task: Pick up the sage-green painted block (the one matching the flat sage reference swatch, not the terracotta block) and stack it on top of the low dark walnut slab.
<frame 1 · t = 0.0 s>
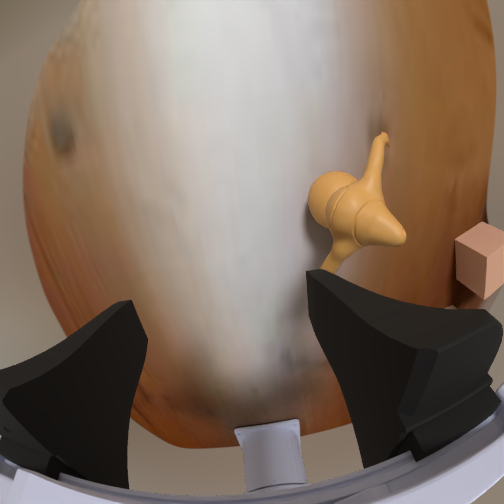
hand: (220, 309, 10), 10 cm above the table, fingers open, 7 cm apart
figurine: (314, 190, 19), on the table, touching gripper
terracotta block: (469, 250, 23), on the table
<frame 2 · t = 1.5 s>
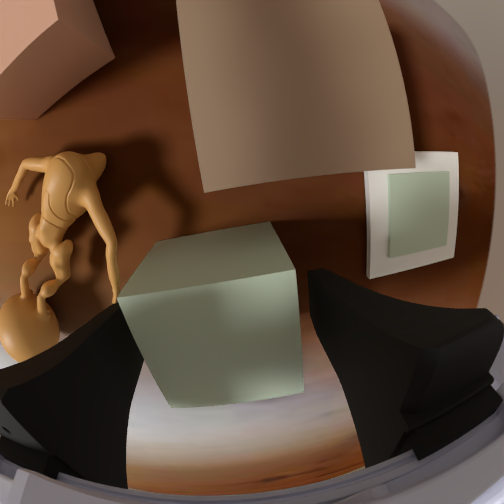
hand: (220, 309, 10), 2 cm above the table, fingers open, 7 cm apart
figurine: (9, 361, 9), point 4 cm above the table, touching gripper
sage block: (222, 282, 13), on the table
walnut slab: (287, 88, 9), on the table, touching reference swatch
reference swatch: (415, 210, 12), on the table
terracotta block: (61, 54, 8), on the table
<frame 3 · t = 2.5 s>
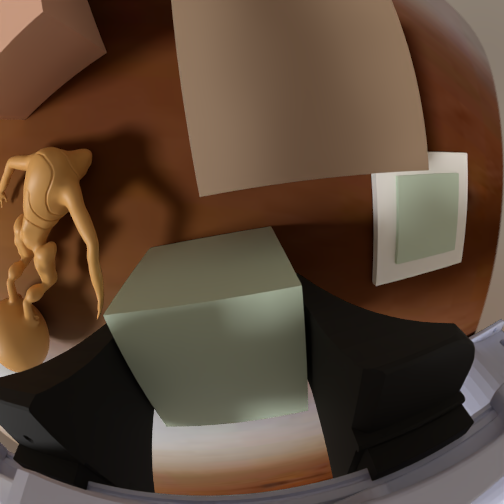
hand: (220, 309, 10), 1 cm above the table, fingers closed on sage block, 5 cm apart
sage block: (220, 291, 12), on the table, touching gripper
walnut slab: (290, 83, 9), on the table, touching reference swatch
reference swatch: (424, 213, 11), on the table
terracotta block: (51, 50, 7), on the table
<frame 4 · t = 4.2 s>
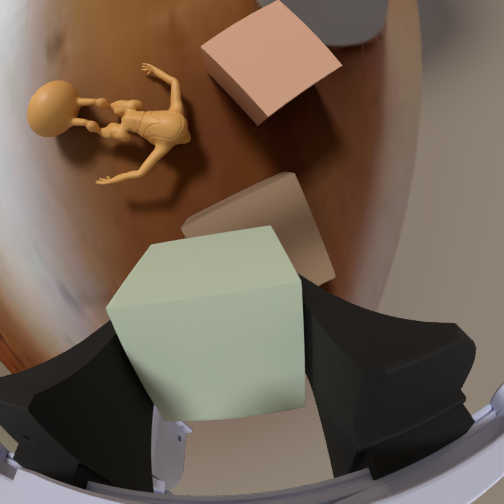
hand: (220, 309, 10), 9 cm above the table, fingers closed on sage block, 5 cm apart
figurine: (24, 100, 10), point 4 cm above the table
sage block: (220, 289, 12), point 7 cm above the table, touching gripper
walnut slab: (257, 240, 19), on the table, touching reference swatch
terracotta block: (262, 76, 15), on the table
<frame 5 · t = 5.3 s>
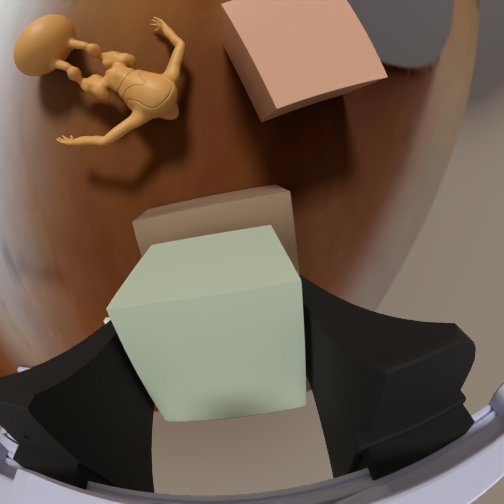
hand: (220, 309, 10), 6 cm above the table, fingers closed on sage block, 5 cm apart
figurine: (18, 28, 6), point 4 cm above the table
sage block: (220, 289, 12), point 4 cm above the table, touching gripper
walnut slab: (222, 257, 15), on the table, touching reference swatch
terracotta block: (284, 67, 12), on the table
when the fingers open (6 cm above the table, at t = 5.9 s): sage block stays where it is, resting on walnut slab.
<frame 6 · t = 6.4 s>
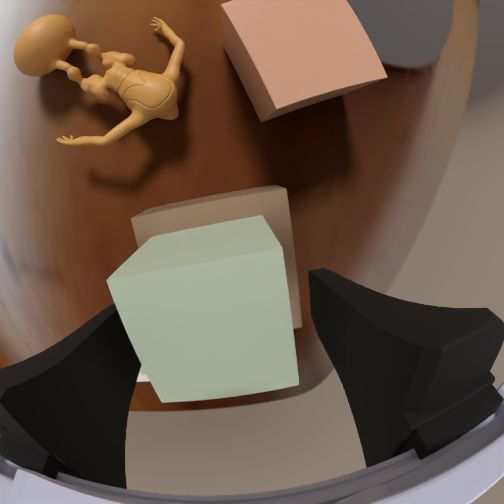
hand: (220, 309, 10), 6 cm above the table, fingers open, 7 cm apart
figurine: (18, 28, 6), point 4 cm above the table
sage block: (217, 278, 13), point 3 cm above the table, touching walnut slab
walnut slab: (222, 257, 15), on the table, touching reference swatch, sage block
terracotta block: (284, 68, 12), on the table
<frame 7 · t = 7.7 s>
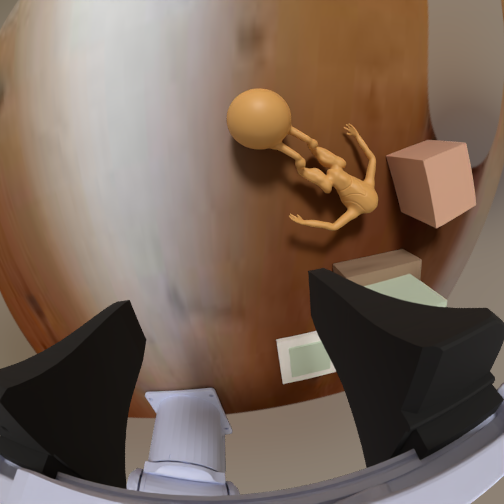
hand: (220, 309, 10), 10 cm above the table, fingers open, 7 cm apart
figurine: (240, 94, 13), point 4 cm above the table
sage block: (383, 308, 20), point 3 cm above the table, touching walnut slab
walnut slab: (370, 292, 23), on the table, touching reference swatch, sage block
reference swatch: (309, 355, 25), on the table
terracotta block: (414, 175, 20), on the table
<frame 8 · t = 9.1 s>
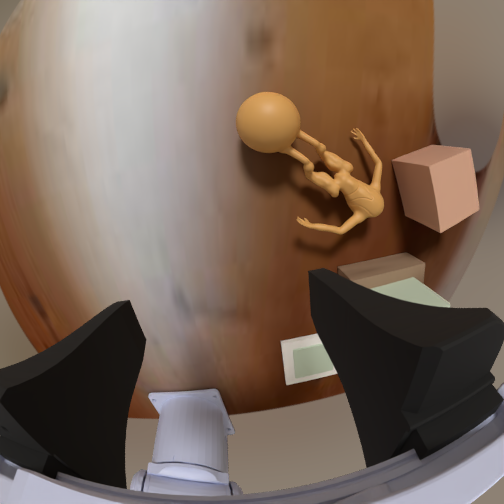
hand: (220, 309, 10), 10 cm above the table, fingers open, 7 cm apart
figurine: (250, 97, 14), point 4 cm above the table
sage block: (387, 311, 20), point 3 cm above the table, touching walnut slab
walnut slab: (373, 295, 23), on the table, touching reference swatch, sage block
reference swatch: (313, 357, 25), on the table
terracotta block: (419, 179, 20), on the table
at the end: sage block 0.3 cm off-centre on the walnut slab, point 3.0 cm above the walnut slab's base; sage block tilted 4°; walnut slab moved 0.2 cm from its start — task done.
